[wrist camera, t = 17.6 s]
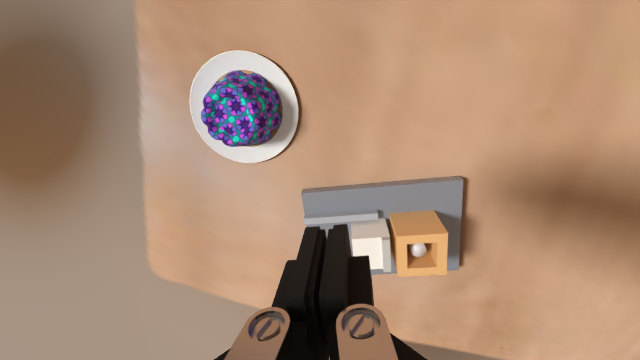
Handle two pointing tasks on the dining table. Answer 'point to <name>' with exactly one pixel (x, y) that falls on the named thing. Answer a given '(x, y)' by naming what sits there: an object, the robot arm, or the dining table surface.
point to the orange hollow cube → (418, 231)
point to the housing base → (390, 208)
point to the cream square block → (372, 242)
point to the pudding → (243, 107)
